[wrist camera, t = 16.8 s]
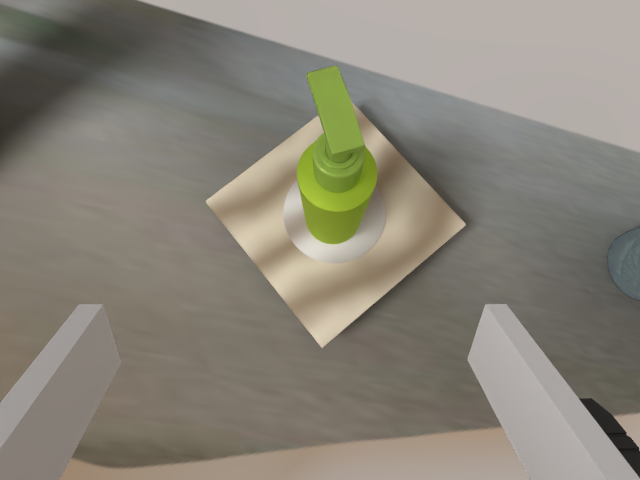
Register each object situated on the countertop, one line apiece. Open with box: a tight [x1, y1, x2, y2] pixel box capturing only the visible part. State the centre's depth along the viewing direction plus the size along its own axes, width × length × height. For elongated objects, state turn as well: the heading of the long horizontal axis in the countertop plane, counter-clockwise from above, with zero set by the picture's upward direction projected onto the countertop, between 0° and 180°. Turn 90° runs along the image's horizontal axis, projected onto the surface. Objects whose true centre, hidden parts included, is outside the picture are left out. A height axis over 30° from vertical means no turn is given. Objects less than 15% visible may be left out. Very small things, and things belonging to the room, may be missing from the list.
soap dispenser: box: [297, 66, 377, 244], centre depth 30 cm, size 6×7×20 cm
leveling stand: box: [206, 101, 466, 348], centre depth 42 cm, size 20×20×6 cm
